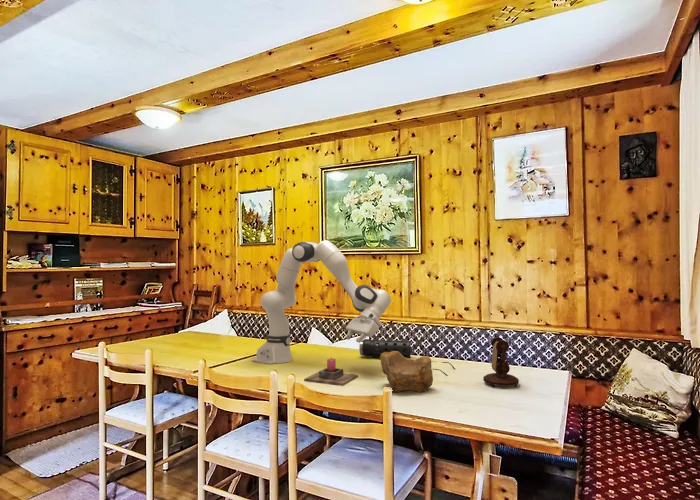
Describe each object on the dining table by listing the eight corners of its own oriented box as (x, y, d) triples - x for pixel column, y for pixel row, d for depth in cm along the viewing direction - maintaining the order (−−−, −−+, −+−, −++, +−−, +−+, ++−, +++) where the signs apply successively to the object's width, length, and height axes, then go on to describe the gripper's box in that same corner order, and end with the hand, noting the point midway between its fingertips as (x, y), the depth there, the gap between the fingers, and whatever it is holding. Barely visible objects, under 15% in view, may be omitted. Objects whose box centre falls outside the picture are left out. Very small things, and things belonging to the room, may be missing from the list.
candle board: (304, 380, 203) (304, 372, 203) (321, 372, 217) (320, 364, 217) (343, 385, 194) (343, 376, 194) (358, 376, 208) (357, 368, 209)
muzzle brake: (409, 361, 240) (409, 342, 240) (359, 359, 245) (359, 340, 246) (410, 357, 249) (410, 338, 249) (362, 355, 255) (362, 337, 255)
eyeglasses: (421, 365, 230) (421, 356, 231) (456, 369, 221) (456, 359, 221) (410, 372, 216) (409, 362, 217) (447, 377, 207) (447, 366, 207)
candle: (325, 377, 205) (325, 358, 205) (329, 375, 208) (329, 356, 208) (333, 378, 203) (333, 359, 203) (337, 376, 206) (337, 357, 207)
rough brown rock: (370, 393, 185) (370, 358, 184) (383, 380, 200) (383, 347, 199) (425, 402, 176) (424, 365, 175) (434, 387, 191) (434, 353, 190)
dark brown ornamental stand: (479, 379, 201) (478, 335, 201) (512, 379, 201) (511, 335, 201) (488, 389, 186) (487, 342, 187) (524, 389, 186) (523, 341, 186)
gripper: (353, 312, 225) (337, 333, 220) (376, 316, 208) (359, 339, 202) (361, 320, 227) (345, 341, 222) (384, 324, 210) (368, 347, 205)
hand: (352, 340), depth 212 cm, fingers open, 8 cm apart
